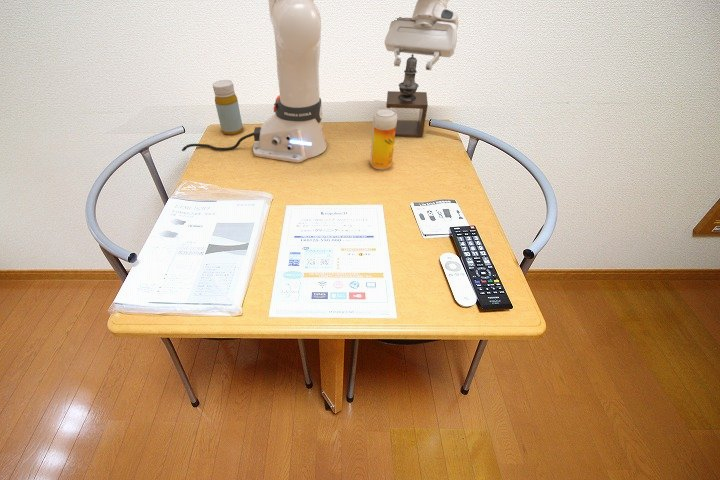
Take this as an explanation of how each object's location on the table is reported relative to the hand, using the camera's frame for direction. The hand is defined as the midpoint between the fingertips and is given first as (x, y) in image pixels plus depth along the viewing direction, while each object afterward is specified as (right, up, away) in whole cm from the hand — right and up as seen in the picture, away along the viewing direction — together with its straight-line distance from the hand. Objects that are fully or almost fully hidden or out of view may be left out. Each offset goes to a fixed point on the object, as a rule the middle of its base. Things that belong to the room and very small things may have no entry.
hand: (412, 67), depth 105 cm
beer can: (-9, -29, -2) cm, 31 cm away
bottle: (-56, -12, +17) cm, 60 cm away
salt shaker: (0, -6, +6) cm, 9 cm away
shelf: (0, -13, +13) cm, 18 cm away
